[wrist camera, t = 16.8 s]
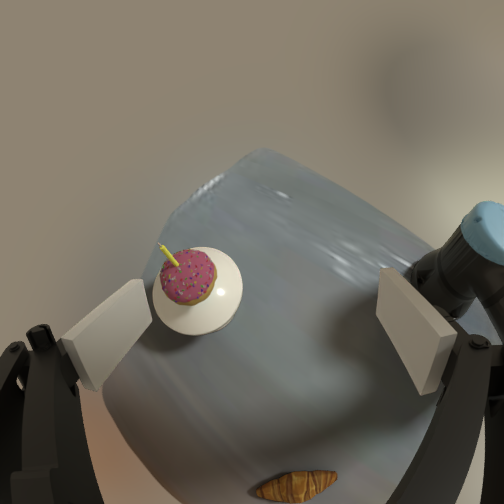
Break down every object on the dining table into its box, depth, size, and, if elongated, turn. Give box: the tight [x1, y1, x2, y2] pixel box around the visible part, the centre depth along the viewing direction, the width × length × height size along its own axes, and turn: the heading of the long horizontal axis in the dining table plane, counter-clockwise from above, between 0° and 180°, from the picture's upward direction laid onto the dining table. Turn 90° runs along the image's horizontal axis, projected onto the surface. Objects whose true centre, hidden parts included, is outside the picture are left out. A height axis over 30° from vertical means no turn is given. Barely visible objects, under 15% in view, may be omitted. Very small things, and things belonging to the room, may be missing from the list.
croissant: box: [256, 470, 337, 503], centre depth 29 cm, size 14×7×5 cm, turn 102°
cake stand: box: [153, 247, 243, 336], centre depth 46 cm, size 15×15×8 cm
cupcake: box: [158, 242, 217, 306], centre depth 37 cm, size 9×8×12 cm
